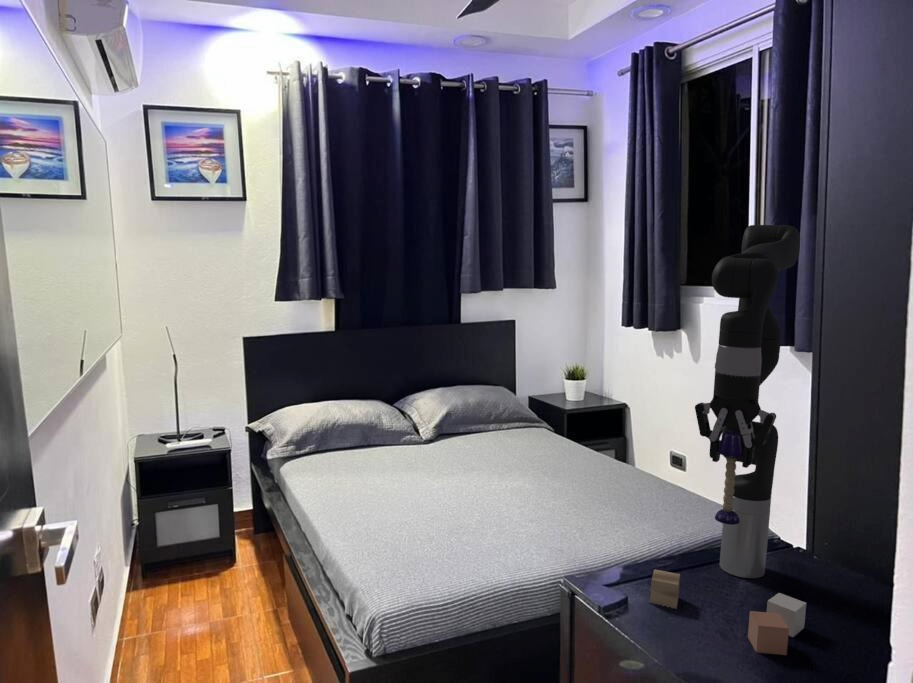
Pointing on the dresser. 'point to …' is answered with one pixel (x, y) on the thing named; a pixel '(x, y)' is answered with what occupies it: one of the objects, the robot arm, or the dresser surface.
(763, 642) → the terracotta block
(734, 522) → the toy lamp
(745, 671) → the dresser surface
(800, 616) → the off-white block
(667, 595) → the oak block
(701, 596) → the dresser surface
